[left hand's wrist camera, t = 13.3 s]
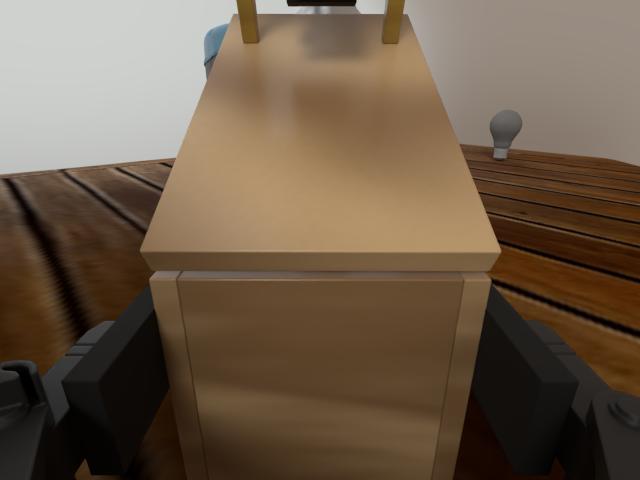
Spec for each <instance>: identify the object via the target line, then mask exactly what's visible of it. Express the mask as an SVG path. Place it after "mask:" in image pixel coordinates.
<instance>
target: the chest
mask: <svg viewBox="0 0 640 480" xmlns="http://www.w3.org/2000/svg"><path fill="white" fill-rule="evenodd" d="M149 282H150V287H151V292H152V298H153V303H154V308H155V313H156V319H157V324H158V329H159V334H160V340H161V345H162V350H163V355H164V360H165V366H166V371H167V376H168V381H169V387H170V392H171V398H172V403H173V408H174V414H175V419H176V424H177V429H178V435H179V440H180V445H181V450H182V456H183V461H184V466H185V471H186V477H187V480H453V475H454V470H455V465H456V460H457V455H458V450H459V445H460V439H461V434H462V429H463V424H464V419H465V414H466V409H467V404H468V398H469V393H470V388H471V383H472V377H473V372H474V367H475V362H476V357H477V351H478V346H479V341H480V336H481V331H482V326H483V320H484V315H485V310H486V306H487V301H488V296H489V291H490V286H491V279H490V278H489V277H488V275H487V274H486V273H485V272H484V271H156V272H155V273H154V274H153V276H152V277H151V278H150V279H149Z"/></svg>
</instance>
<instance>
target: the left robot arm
mask: <svg viewBox="0 0 640 480" xmlns="http://www.w3.org/2000/svg"><path fill="white" fill-rule="evenodd" d="M168 389H169V381H168V376H167V371H166V366H165V360H164V355H163V350H162V345H161V340H160V334H159V329H158V324H157V319H156V313H155V308H154V303H153V298H152V292H151V287H150V283H149V284H148V286H147V287H146V288H145V289H144V290H143V291H142V292H141V293H140V294H139V296H138V297H137V298H136V299H135V300H134V301H133V302H132V303H131V304H130V305H129V307H128V308H127V309H126V310H125V311H124V312H123V313H122V314H121V315H120V317H119V318H118V319H117V320H116V321H104V322H102V323H101V324H99V325H97V326H96V327H94V328H92V329H91V330H89V331H87V332H86V334H85V335H84V336H83V337H82V338H81V339H80V340H79V341H78V342H77V343H76V345H75V346H73V347H72V348H71V349H70V350H69V351H68V352H67V353H66V355H65V356H63V357H62V358H61V359H60V360H59V361H58V362H57V363H56V364H55V365H54V366H53V367H52V368H51V369H50V370H49V371H48V372H47V373H46V374H45V375H44V376H43V377H42V378H41V377H40V374H39V371H38V368H37V365H36V364H34V363H33V362H31V361H26V360H15V361H9V362H4V363H1V364H0V480H76V477H75V473H76V471H77V470H78V468H79V467H80V465H81V464H82V462H83V460H84V459H85V457H86V460H87V464H88V467H89V470H90V473H91V475H125V473H126V471H127V469H128V467H129V465H130V463H131V461H132V459H133V457H134V455H135V453H136V451H137V450H138V448H139V446H140V444H141V442H142V440H143V438H144V436H145V434H146V432H147V430H148V428H149V426H150V424H151V422H152V420H153V418H154V416H155V415H156V413H157V411H158V409H159V407H160V405H161V403H162V401H163V399H164V397H165V395H166V393H167V391H168ZM471 389H472V390H473V392H474V394H475V396H476V398H477V400H478V402H479V404H480V406H481V408H482V410H483V412H484V414H485V416H486V418H487V420H488V422H489V424H490V425H491V427H492V429H493V431H494V433H495V435H496V437H497V439H498V441H499V443H500V445H501V447H502V449H503V451H504V453H505V455H506V457H507V459H508V460H509V462H510V464H511V466H512V468H513V470H514V472H515V474H516V475H549V474H550V471H551V468H552V465H553V462H554V459H555V456H556V458H557V459H558V461H559V463H560V464H561V466H562V467H563V469H564V470H565V472H566V474H565V477H564V480H640V398H638V397H635V396H632V395H630V394H627V393H624V392H619V391H613V390H612V389H611V388H610V387H609V386H608V385H607V384H606V383H605V382H604V381H603V380H602V379H601V378H600V377H599V376H598V375H597V374H596V373H595V372H594V371H593V370H592V369H591V368H590V367H589V366H588V365H587V364H586V363H585V362H584V361H583V360H582V359H581V358H580V357H579V356H578V355H576V354H575V352H574V351H573V350H572V349H571V348H570V347H569V346H568V345H566V344H565V342H564V341H563V340H562V339H561V338H560V337H559V336H558V335H557V334H556V333H555V332H554V331H553V330H552V329H550V328H549V327H547V326H545V325H544V324H542V323H540V322H539V321H537V320H524V319H523V318H522V317H521V316H520V315H519V314H518V313H517V312H516V311H515V309H514V308H513V307H512V306H511V305H510V304H509V303H508V302H507V301H506V299H505V298H504V297H503V296H502V295H501V294H500V293H499V292H498V291H497V290H496V288H495V287H494V286H493V285H492V284H491V286H490V291H489V296H488V301H487V306H486V310H485V315H484V320H483V326H482V331H481V336H480V341H479V346H478V351H477V357H476V362H475V367H474V372H473V377H472V383H471Z"/></svg>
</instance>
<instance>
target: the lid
mask: <svg viewBox="0 0 640 480" xmlns="http://www.w3.org/2000/svg"><path fill="white" fill-rule="evenodd" d="M236 1H237V7H238V14H233V16H232V19H231V21H230V24H229V26H228V29H227V31H226V34H225V36H224V39H223V41H222V44H221V46H220V49H219V51H218V54H217V57H216V59H215V62H214V64H213V67H212V69H211V72H210V74H209V77H208V79H207V82H206V84H205V87H204V90H203V92H202V94H201V97H200V100H199V102H198V105H197V107H196V110H195V112H194V115H193V117H192V120H191V122H190V125H189V127H188V130H187V133H186V135H185V137H184V140H183V143H182V145H181V148H180V150H179V153H178V155H177V158H176V160H175V163H174V165H173V168H172V170H171V173H170V175H169V178H168V180H167V183H166V186H165V188H164V191H163V193H162V196H161V198H160V201H159V203H158V206H157V208H156V211H155V213H154V216H153V218H152V221H151V223H150V226H149V229H148V231H147V234H146V236H145V239H144V241H143V244H142V246H141V249H140V253H141V255H142V256H143V258H144V259H145V261H146V263H147V264H148V266H149V268H150V269H151V270H152V271H490V270H491V268H492V266H493V265H494V263H495V262H496V260H497V258H498V257H499V255H500V253H501V249H500V247H499V244H498V242H497V239H496V237H495V234H494V232H493V229H492V227H491V224H490V221H489V219H488V216H487V214H486V211H485V209H484V206H483V204H482V201H481V199H480V196H479V194H478V191H477V189H476V186H475V184H474V181H473V179H472V176H471V173H470V171H469V168H468V166H467V163H466V161H465V158H464V156H463V153H462V151H461V148H460V146H459V143H458V141H457V138H456V136H455V133H454V131H453V128H452V125H451V123H450V120H449V118H448V115H447V113H446V110H445V108H444V105H443V103H442V100H441V98H440V95H439V93H438V90H437V88H436V85H435V83H434V80H433V78H432V75H431V73H430V70H429V67H428V65H427V62H426V60H425V57H424V55H423V52H422V50H421V47H420V45H419V42H418V40H417V37H416V35H415V32H414V30H413V27H412V24H411V22H410V19H409V17H408V15H407V14H403V9H404V3H405V0H386V3H385V11H384V14H257V11H256V3H255V0H236Z"/></svg>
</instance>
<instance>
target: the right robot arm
mask: <svg viewBox="0 0 640 480" xmlns="http://www.w3.org/2000/svg"><path fill="white" fill-rule="evenodd" d="M287 4H288V6H299V7H298V9H297V10H296V11H295V13H294V14H361V13H360V12H359V11H358V10H357V8H356V6H355V4H356V0H287ZM229 24H230V23H229ZM229 24H224V25H221V26H218V27H215V28H213V29H211V30H210V31H209V32H208V33H207V34H206V36H205V39H204V51H205V62H204V66H205V68H206V77H207V79H208V77H209V74H210V72H211V69H212V67H213V64H214V62H215V59H216V57H217V54H218V51H219V49H220V46H221V44H222V41H223V39H224V36H225V34H226V31H227V29H228V26H229Z"/></svg>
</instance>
